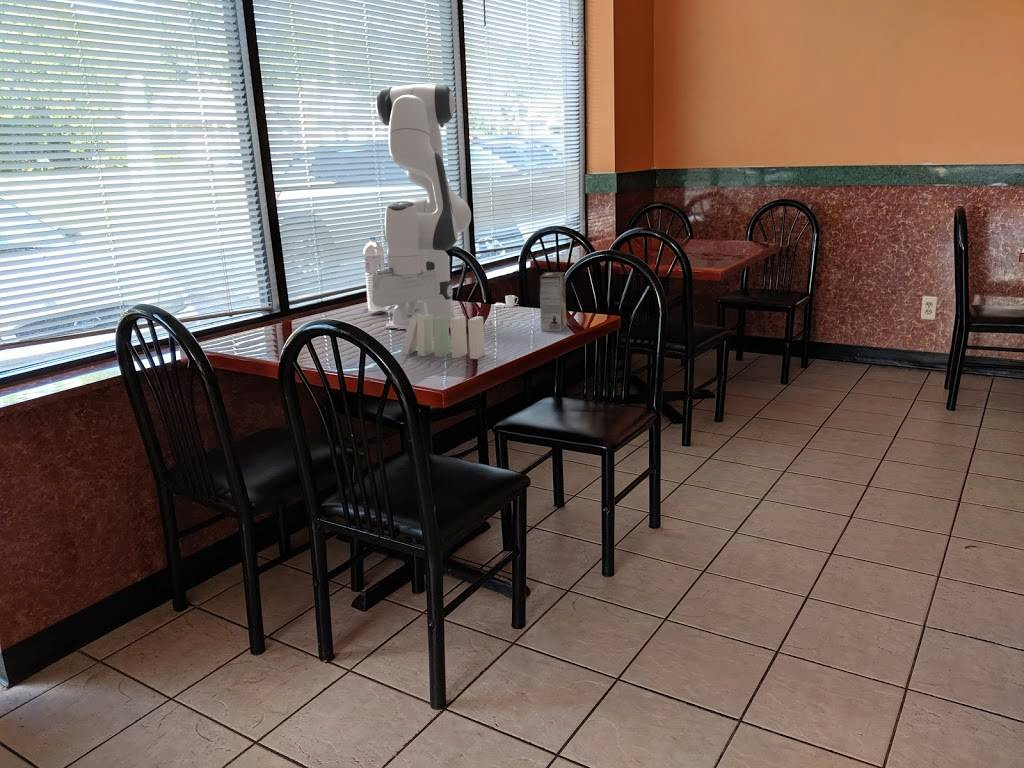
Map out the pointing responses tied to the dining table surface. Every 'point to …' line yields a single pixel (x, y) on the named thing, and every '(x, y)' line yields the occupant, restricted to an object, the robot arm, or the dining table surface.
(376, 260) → the water bottle
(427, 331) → the domino
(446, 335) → the domino
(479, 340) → the domino
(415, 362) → the dining table surface
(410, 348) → the domino
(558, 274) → the coffee box
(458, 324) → the domino
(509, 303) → the teacup and saucer
